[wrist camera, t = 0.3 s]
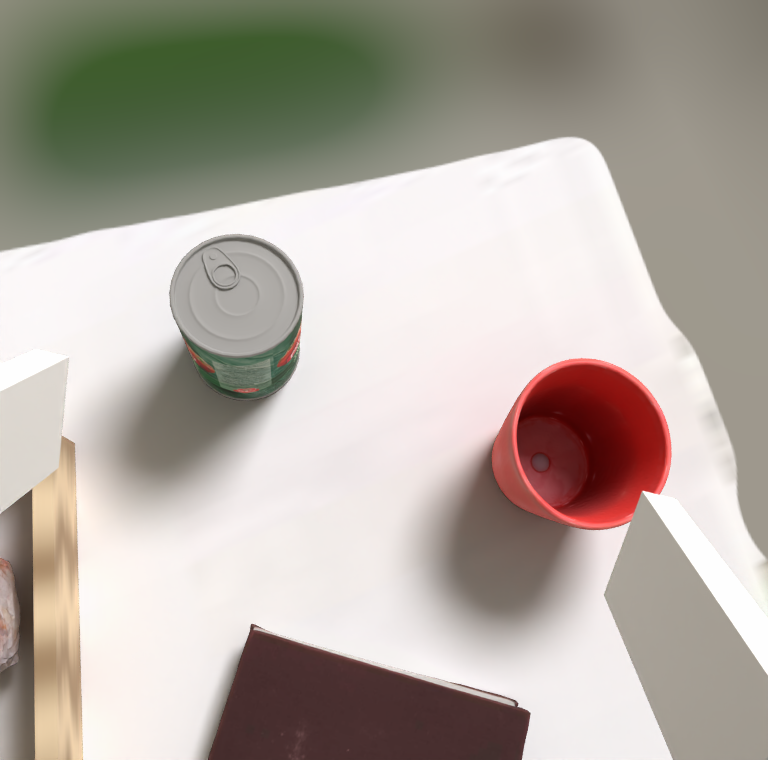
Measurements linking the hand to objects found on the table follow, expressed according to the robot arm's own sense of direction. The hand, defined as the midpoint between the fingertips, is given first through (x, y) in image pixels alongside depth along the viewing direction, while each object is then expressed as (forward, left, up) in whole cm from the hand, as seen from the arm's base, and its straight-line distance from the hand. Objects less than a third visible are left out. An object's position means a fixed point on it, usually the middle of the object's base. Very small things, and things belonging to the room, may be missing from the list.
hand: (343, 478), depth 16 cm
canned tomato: (+14, +3, -35) cm, 38 cm away
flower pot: (+3, -18, -35) cm, 40 cm away
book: (-15, -2, -36) cm, 39 cm away
